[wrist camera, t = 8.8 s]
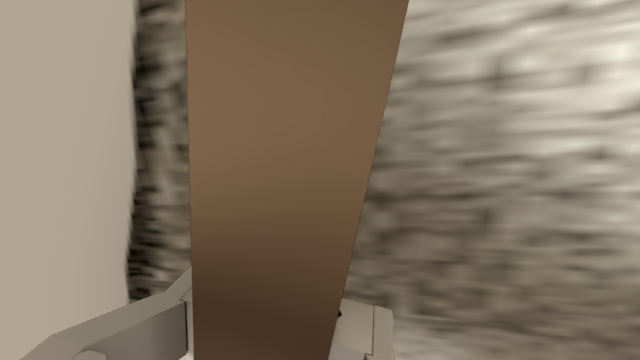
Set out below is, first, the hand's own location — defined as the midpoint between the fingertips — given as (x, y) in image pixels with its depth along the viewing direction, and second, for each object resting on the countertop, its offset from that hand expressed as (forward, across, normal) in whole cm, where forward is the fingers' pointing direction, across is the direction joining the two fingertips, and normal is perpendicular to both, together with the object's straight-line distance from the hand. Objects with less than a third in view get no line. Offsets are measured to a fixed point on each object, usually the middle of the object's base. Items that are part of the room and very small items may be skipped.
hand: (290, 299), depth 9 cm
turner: (+2, 0, +2) cm, 3 cm away
